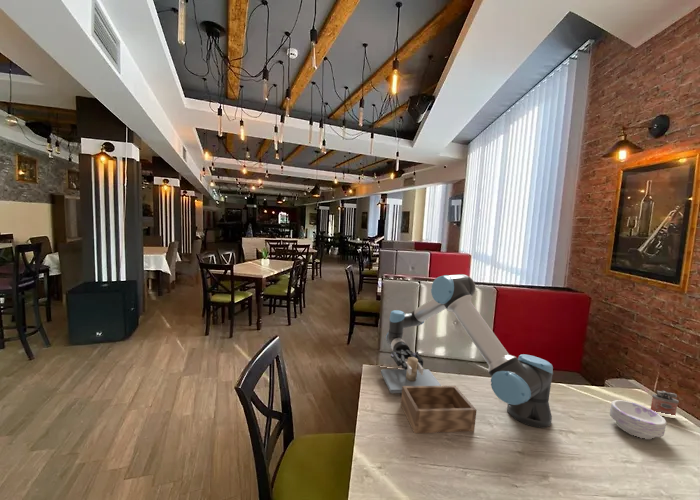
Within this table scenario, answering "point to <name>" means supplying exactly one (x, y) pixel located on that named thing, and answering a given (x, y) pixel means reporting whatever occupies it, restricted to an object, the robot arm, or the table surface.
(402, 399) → the brown wooden open box
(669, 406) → the lighter
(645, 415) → the paper bowls
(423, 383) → the lid
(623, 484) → the table surface
